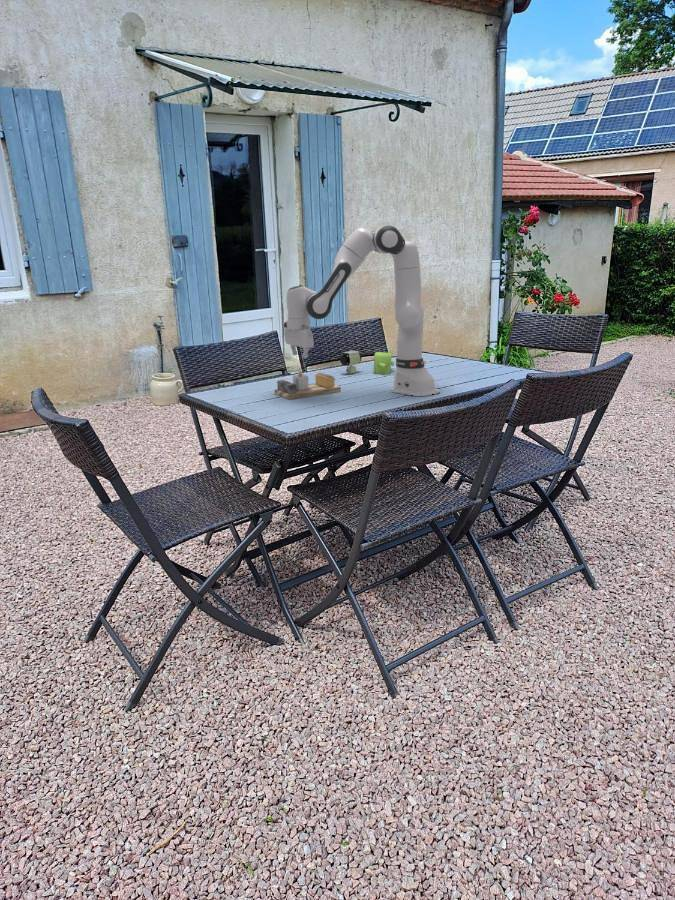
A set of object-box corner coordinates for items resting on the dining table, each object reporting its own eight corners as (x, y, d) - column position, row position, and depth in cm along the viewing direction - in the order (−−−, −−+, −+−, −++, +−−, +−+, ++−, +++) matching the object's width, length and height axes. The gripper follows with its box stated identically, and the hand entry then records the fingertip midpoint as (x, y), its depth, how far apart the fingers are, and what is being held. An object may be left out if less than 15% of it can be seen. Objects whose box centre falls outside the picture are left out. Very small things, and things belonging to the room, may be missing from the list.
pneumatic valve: (339, 374, 338) (339, 350, 334) (355, 370, 346) (355, 347, 342) (347, 375, 334) (347, 351, 330) (363, 372, 342) (363, 348, 338)
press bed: (340, 391, 299) (340, 378, 298) (289, 399, 287) (288, 386, 285) (324, 386, 311) (324, 373, 309) (274, 393, 298) (274, 380, 296)
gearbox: (392, 376, 332) (393, 357, 329) (372, 375, 333) (373, 357, 330) (394, 369, 349) (395, 351, 346) (375, 368, 350) (376, 350, 347)
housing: (308, 389, 296) (307, 371, 293) (298, 390, 293) (297, 372, 291) (303, 387, 300) (302, 369, 297) (293, 388, 297) (292, 371, 295)
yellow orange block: (334, 386, 299) (334, 375, 298) (326, 387, 297) (326, 376, 296) (323, 382, 308) (322, 372, 306) (315, 383, 306) (315, 373, 304)
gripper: (316, 325, 281) (318, 358, 285) (293, 321, 298) (295, 352, 302) (303, 327, 278) (305, 360, 282) (281, 323, 295) (283, 354, 299)
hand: (300, 356), depth 292 cm, fingers open, 8 cm apart
